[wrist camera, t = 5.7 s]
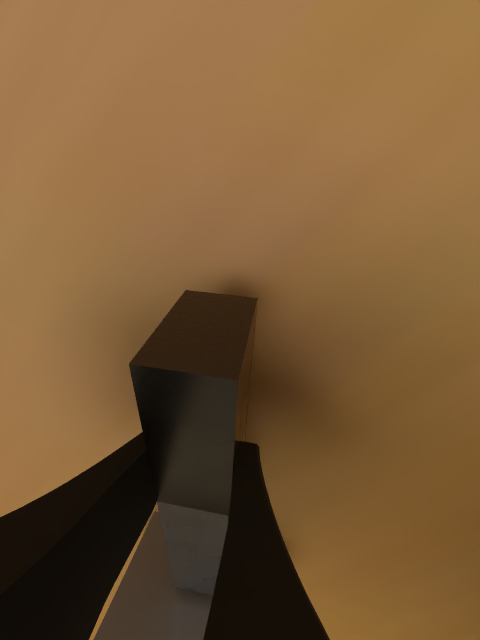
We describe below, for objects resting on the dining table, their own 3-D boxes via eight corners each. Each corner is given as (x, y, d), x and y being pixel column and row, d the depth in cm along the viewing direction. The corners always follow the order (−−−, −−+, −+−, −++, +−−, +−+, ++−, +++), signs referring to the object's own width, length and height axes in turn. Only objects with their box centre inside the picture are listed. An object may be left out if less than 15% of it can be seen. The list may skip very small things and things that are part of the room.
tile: (281, 537, 17) (283, 776, 9) (277, 558, 17) (276, 803, 10) (154, 511, 18) (59, 711, 10) (154, 532, 18) (62, 738, 10)
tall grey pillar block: (185, 289, 10) (129, 363, 6) (257, 298, 9) (238, 380, 6) (197, 500, 17) (174, 586, 14) (238, 508, 17) (224, 598, 13)
